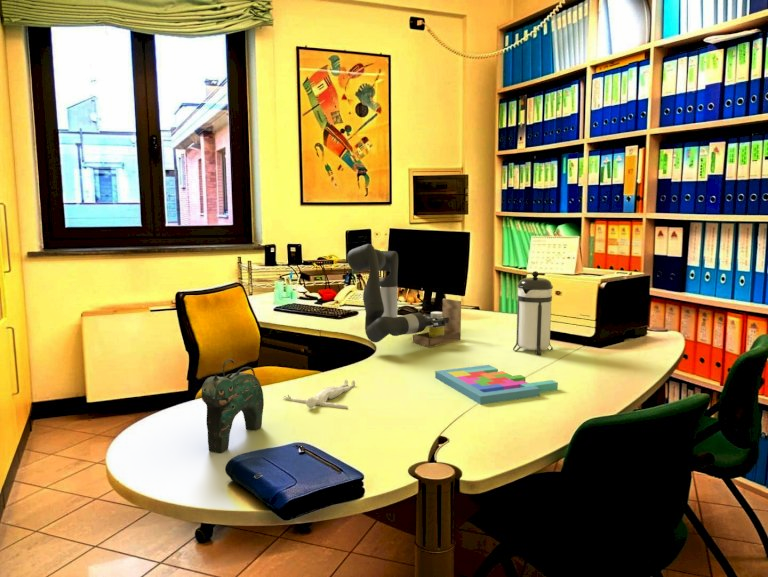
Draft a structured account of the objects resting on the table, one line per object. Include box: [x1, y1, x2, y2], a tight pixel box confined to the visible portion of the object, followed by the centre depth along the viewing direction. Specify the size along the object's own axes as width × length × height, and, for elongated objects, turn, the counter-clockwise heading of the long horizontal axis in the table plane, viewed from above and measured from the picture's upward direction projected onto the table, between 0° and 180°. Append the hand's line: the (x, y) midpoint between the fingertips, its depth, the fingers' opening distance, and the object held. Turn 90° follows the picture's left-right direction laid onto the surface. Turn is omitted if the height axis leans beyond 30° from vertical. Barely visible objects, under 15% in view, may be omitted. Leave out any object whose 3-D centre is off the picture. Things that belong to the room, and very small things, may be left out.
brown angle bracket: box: [412, 298, 462, 348], centre depth 246 cm, size 9×18×16 cm, turn 132°
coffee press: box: [512, 270, 554, 356], centre depth 231 cm, size 17×16×30 cm
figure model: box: [282, 379, 356, 410], centre depth 178 cm, size 21×4×25 cm
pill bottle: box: [428, 311, 444, 338], centre depth 247 cm, size 6×6×11 cm
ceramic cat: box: [200, 358, 265, 454], centre depth 145 cm, size 20×6×20 cm, turn 158°
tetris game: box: [434, 364, 559, 405], centre depth 189 cm, size 28×3×28 cm
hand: (440, 318), depth 248 cm, fingers open, 8 cm apart
